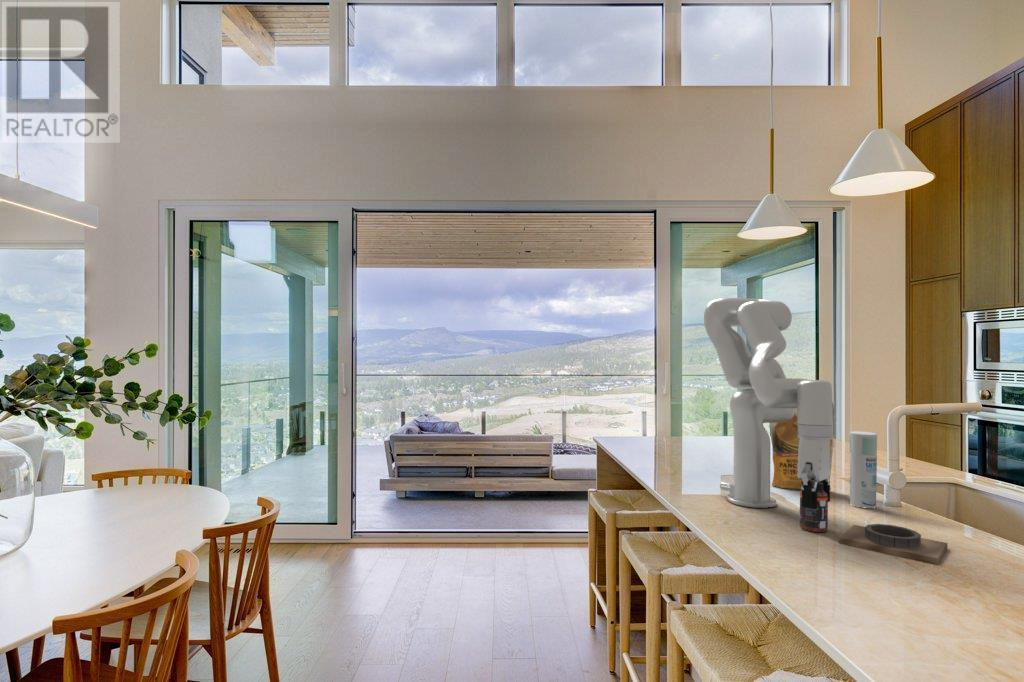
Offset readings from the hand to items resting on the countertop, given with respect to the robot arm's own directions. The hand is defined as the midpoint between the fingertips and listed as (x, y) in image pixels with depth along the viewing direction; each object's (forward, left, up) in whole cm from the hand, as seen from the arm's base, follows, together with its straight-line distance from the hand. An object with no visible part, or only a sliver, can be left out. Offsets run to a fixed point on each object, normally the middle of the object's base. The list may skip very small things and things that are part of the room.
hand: (816, 504), depth 138 cm
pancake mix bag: (-17, +42, -6) cm, 46 cm away
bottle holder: (+15, +1, -6) cm, 16 cm away
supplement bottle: (-1, +1, -6) cm, 6 cm away
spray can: (+2, +33, -6) cm, 34 cm away
